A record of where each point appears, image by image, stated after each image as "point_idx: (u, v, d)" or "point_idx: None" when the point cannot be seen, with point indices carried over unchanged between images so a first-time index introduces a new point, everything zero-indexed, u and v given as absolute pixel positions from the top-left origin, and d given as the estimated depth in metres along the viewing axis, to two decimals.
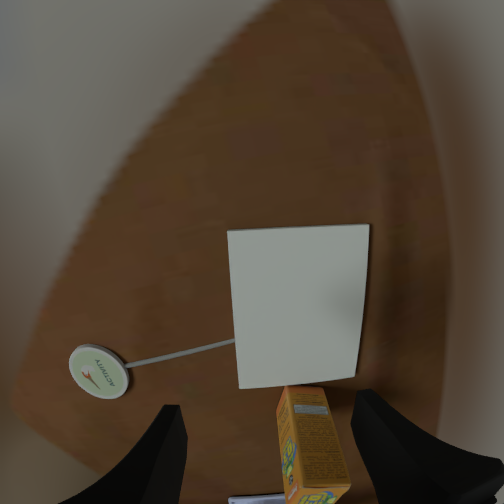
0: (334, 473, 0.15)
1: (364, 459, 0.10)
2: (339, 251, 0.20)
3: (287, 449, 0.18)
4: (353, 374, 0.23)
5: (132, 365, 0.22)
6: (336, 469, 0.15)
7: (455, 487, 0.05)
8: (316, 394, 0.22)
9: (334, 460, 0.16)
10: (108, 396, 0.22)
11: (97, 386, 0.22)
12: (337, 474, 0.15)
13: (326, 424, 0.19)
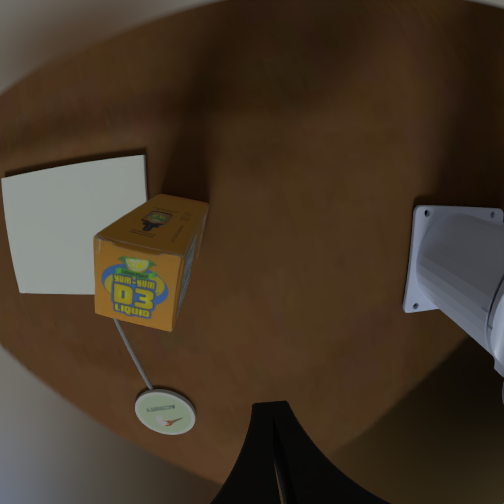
0: None
1: (277, 473, 0.10)
2: (18, 202, 0.18)
3: None
4: (140, 157, 0.18)
5: (147, 384, 0.23)
6: None
7: None
8: None
9: None
10: (190, 413, 0.24)
11: (179, 418, 0.24)
12: None
13: None
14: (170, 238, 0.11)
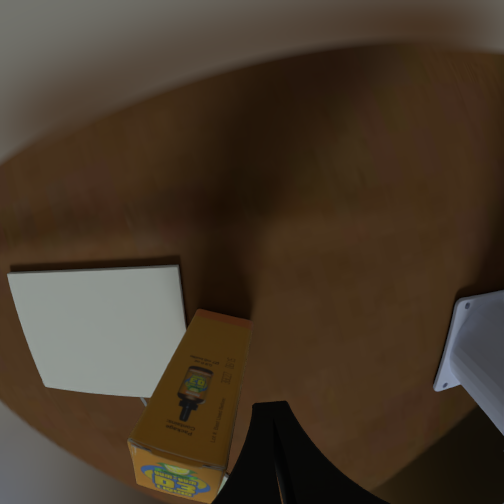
0: None
1: (277, 473, 0.10)
2: (31, 303, 0.17)
3: None
4: (173, 269, 0.17)
5: None
6: None
7: None
8: None
9: None
10: None
11: None
12: None
13: None
14: (210, 433, 0.09)
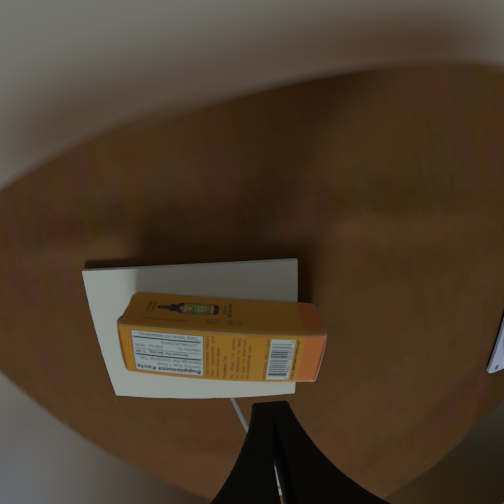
0: None
1: (277, 473, 0.10)
2: (113, 303, 0.17)
3: None
4: (293, 262, 0.17)
5: None
6: None
7: None
8: None
9: None
10: None
11: None
12: None
13: None
14: (148, 316, 0.14)
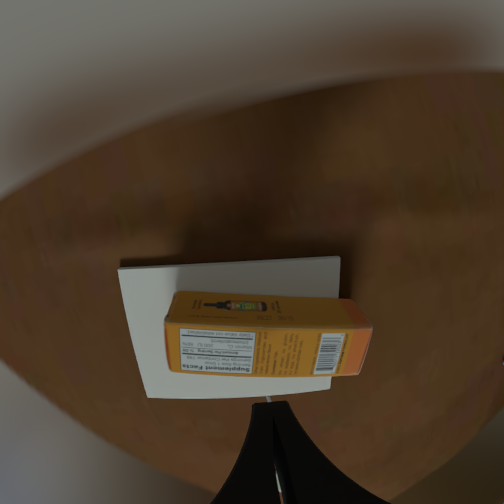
0: None
1: (277, 473, 0.10)
2: (151, 303, 0.17)
3: None
4: (336, 260, 0.17)
5: None
6: None
7: None
8: None
9: None
10: None
11: None
12: None
13: None
14: (196, 314, 0.14)
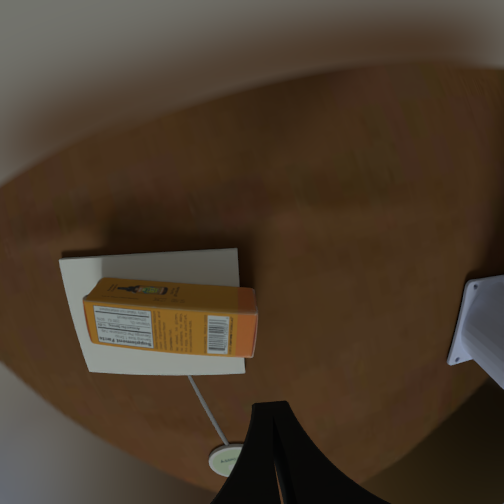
0: None
1: (277, 473, 0.10)
2: (84, 287, 0.19)
3: None
4: (233, 251, 0.19)
5: (224, 441, 0.24)
6: None
7: None
8: None
9: None
10: None
11: None
12: None
13: None
14: (108, 295, 0.17)
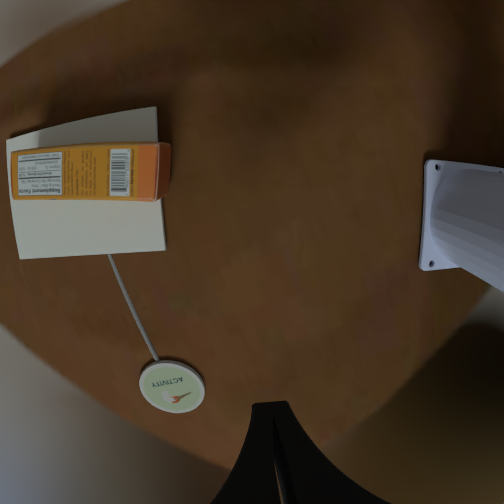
0: None
1: (277, 473, 0.10)
2: None
3: None
4: (151, 108, 0.17)
5: (153, 354, 0.22)
6: None
7: None
8: None
9: None
10: (199, 386, 0.23)
11: (187, 393, 0.23)
12: None
13: None
14: None
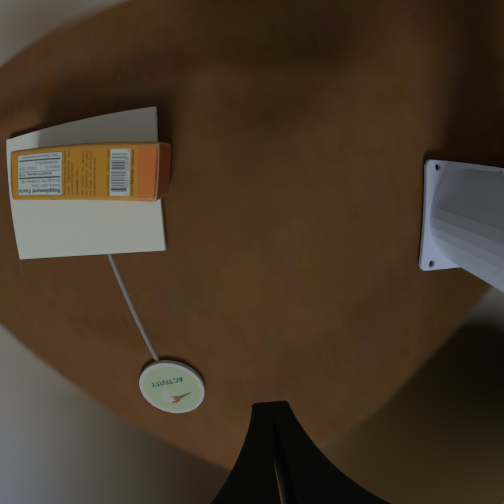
0: None
1: (277, 473, 0.10)
2: None
3: None
4: (151, 108, 0.17)
5: (152, 354, 0.22)
6: None
7: None
8: None
9: None
10: (199, 386, 0.23)
11: (187, 393, 0.23)
12: None
13: None
14: None
